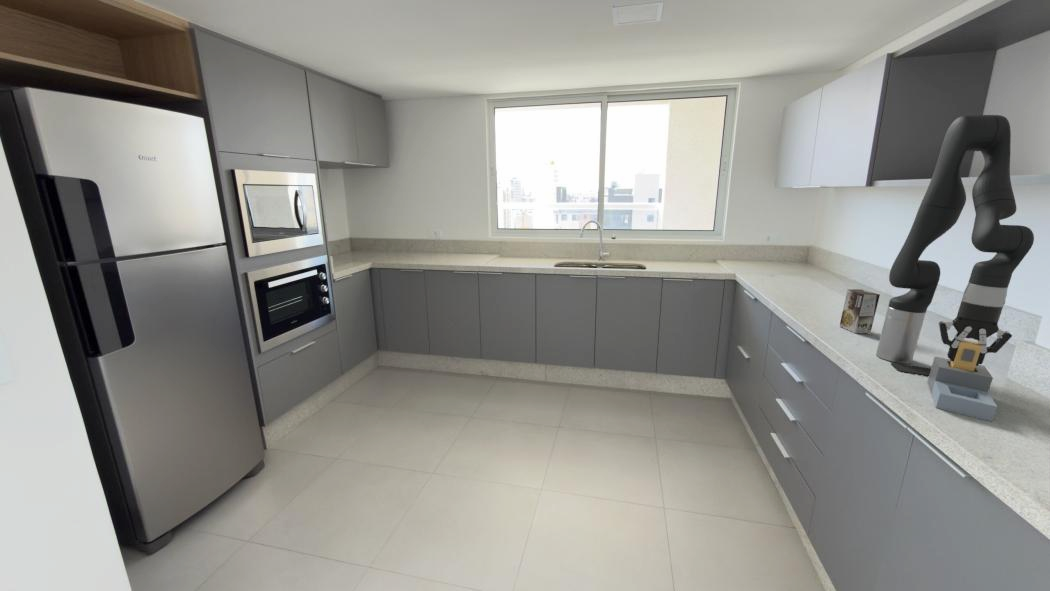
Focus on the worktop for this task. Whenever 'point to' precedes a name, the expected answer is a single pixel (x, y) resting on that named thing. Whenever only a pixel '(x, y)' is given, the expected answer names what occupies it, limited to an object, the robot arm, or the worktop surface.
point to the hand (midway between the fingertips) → (963, 362)
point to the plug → (966, 355)
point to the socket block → (961, 389)
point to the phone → (911, 369)
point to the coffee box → (859, 310)
